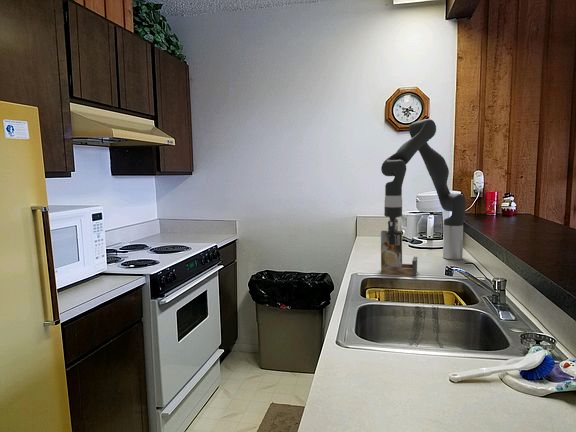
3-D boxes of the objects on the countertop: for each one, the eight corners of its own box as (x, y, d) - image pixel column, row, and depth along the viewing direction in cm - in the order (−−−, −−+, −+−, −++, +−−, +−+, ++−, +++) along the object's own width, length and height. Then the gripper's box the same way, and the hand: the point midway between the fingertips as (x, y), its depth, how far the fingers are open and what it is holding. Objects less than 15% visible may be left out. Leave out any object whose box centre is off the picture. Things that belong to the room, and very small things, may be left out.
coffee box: (402, 266, 181) (402, 230, 180) (402, 269, 175) (402, 232, 173) (381, 265, 184) (381, 230, 182) (380, 268, 178) (380, 232, 176)
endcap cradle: (417, 271, 180) (417, 256, 179) (415, 276, 171) (415, 261, 171) (384, 269, 185) (384, 254, 185) (381, 273, 177) (381, 258, 176)
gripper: (400, 207, 169) (399, 246, 170) (403, 204, 182) (403, 241, 184) (382, 206, 171) (381, 245, 173) (386, 204, 185) (386, 240, 186)
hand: (392, 243), depth 178 cm, fingers closed on coffee box, 6 cm apart
